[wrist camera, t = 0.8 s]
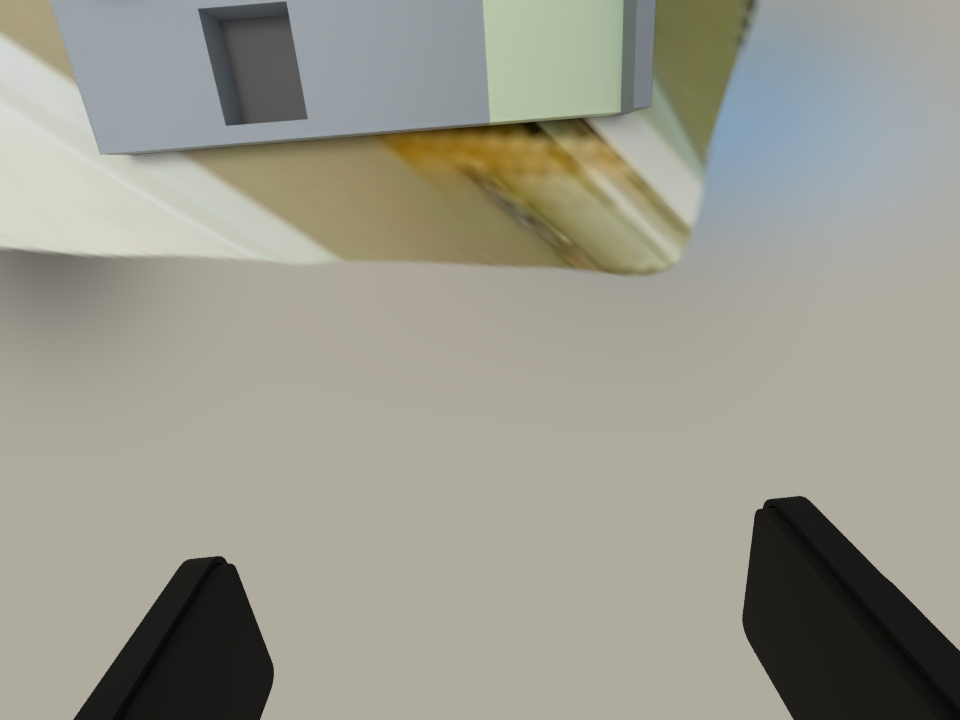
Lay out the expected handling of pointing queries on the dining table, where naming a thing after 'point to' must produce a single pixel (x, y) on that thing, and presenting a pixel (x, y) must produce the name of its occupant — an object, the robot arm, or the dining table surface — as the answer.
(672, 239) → the dining table surface
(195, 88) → the board
